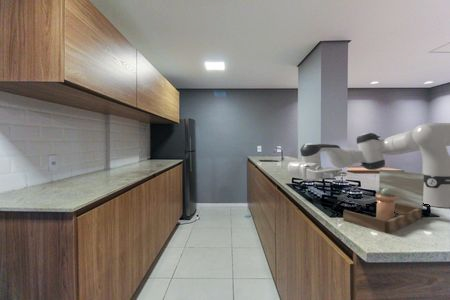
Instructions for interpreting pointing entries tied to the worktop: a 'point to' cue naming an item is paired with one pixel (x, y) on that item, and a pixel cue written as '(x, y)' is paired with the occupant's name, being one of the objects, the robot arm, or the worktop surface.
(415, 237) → the worktop surface
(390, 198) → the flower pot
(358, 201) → the slate tray
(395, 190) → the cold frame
